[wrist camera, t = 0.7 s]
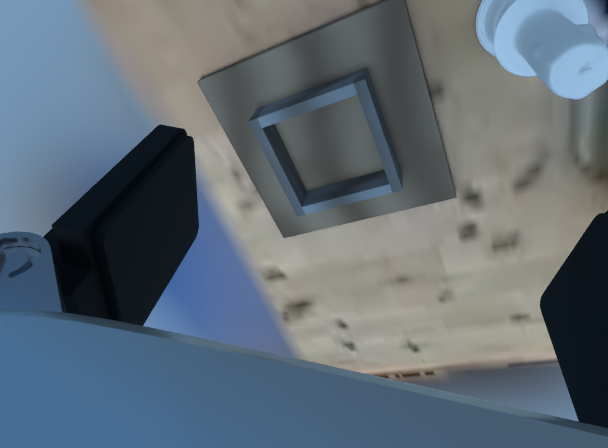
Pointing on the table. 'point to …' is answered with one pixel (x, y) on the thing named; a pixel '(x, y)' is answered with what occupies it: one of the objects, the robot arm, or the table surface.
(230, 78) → the keeper board
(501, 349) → the table surface
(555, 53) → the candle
